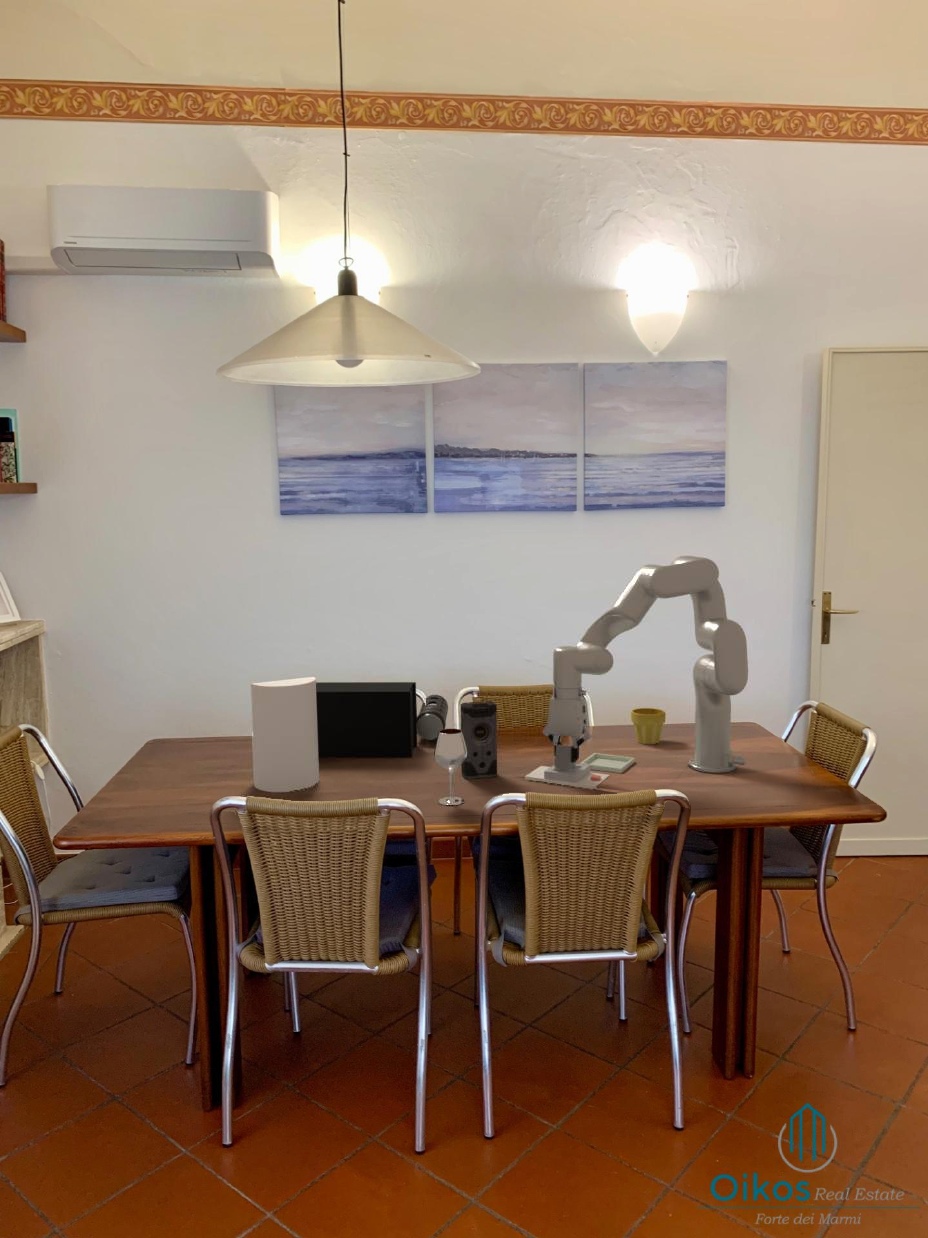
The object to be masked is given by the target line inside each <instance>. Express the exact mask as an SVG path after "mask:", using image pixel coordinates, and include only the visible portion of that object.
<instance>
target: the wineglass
mask: <svg viewBox="0 0 928 1238" xmlns="http://www.w3.org/2000/svg"><path fill="white" fill-rule="evenodd" d="M435 741H436V742H435V746H434V750H433V751H434V752H433V753H434V754H433V755H434V758H435V760H436V762H437V763H438V765H440V766H441V767H442V768H444V769H445V771H447V772H448V775H449V796H446V797H442V798H439V800H438V803H439V804H440V805H443V806H446V805H455V806H459V805H462V804H463V803H465V800H464V798H463V797H462V798H461V797H459V796H454V780H453V779H454V778H453V777H454V773H455V771H456V770H458V768H460V767H461V765H462V764H463V763H464V761H465V760H466V757H467V748H466V744H465V740H464V736H463V733H462V730H461V728H460V729H458V728H445V729H442V730H440V731H439V733H438V737H437V739H436V740H435ZM461 803H462V804H461Z"/></svg>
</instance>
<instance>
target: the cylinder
mask: <svg viewBox="0 0 928 1238" xmlns="http://www.w3.org/2000/svg"><path fill="white" fill-rule="evenodd" d="M316 679H317V678H316V677H315V676H310V677H309V676H307V677H299V678H298V677H297V678H290V679H280V680H271V681H263V682H253V683H250V690H251V691H250V693H251V695H250V696H251V715H252V717H251V718H252V733H251V745H252V747H251V748H252V749H251V750H252V768H253V769H252V770H253V771H252V773H253V774H252V775H253V786H254V788H256V789H257V790H259V791H263V792H269V793H291V792H290V791H292V792H294V791H293V790H299V791H301V790H300V789H303V788H307V789H309V788H308V787H310V788H312V787H314V786H316V785H317V784H318V783H319V782H320V767H319V766H320V765H319V763H320V762H319V758H318V732H317V703H316V682H317V681H316ZM318 781H319V782H318ZM316 783H317V784H316ZM315 784H316V785H315ZM313 785H314V786H313ZM311 786H312V787H311ZM303 790H304V789H303Z"/></svg>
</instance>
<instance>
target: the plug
mask: <svg viewBox="0 0 928 1238" xmlns="http://www.w3.org/2000/svg"><path fill="white" fill-rule="evenodd" d="M572 748H573V745H568V744H567V745H566V744H562V745H557V744H556V754H555V756H554V764H553V765H554V767H557V768H565V769H575V764H577V761H576V762H574V763H572V762H571V757H572Z"/></svg>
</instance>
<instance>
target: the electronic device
mask: <svg viewBox="0 0 928 1238" xmlns="http://www.w3.org/2000/svg"><path fill="white" fill-rule="evenodd" d="M497 710H498V709H497V704H496V703H495V702H494V701H491V700H485V701H484V700H483V701H469V702H467V701H466V702H463V703H460V730H462V733H463V736H464V740H465V744H466V748H467V757H466V760H465V761H464V763H463V764H462V765H461V766H460V768H461V769H460V770H461V771H460V772H461V775H462V776H463V777H464V778H465V779H466V778H467V779H468V780H474V779H475V780H476V778H477V779H483V777H487V778H494V776H495V777H497V775H498V720H497V717H498V713H497Z"/></svg>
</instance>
